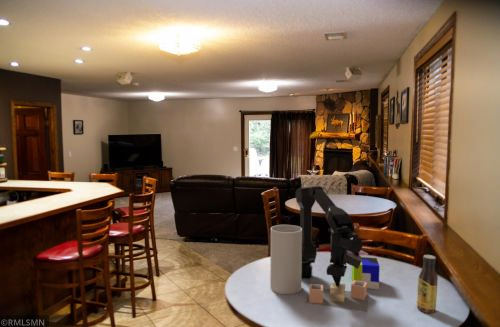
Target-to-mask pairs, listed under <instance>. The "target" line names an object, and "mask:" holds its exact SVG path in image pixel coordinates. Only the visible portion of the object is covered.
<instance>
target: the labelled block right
mask: <svg viewBox="0 0 500 327" xmlns="http://www.w3.org/2000/svg"><path fill="white" fill-rule="evenodd" d="M350 291H351V297H352V298H357V299H362V300H365V298H366V296H367V294H368V288H367V282H361V281H356V280H354V281H353V282H352V283H351V285H350Z"/></svg>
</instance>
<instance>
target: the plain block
mask: <svg viewBox="0 0 500 327" xmlns="http://www.w3.org/2000/svg"><path fill="white" fill-rule="evenodd" d="M329 289H330V300H331V301H338V302H344V299H345V291H346V284H345V283H340V285H339V286H336V284H335V282H331V284H330V288H329Z"/></svg>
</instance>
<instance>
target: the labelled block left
mask: <svg viewBox="0 0 500 327" xmlns="http://www.w3.org/2000/svg"><path fill="white" fill-rule="evenodd" d="M323 288H324V285H323V284H311V283H310V284H309V290H308V291H309V292H308V295H309V303H308V304H310V303H323Z"/></svg>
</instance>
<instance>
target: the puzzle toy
mask: <svg viewBox="0 0 500 327" xmlns="http://www.w3.org/2000/svg"><path fill="white" fill-rule="evenodd" d="M361 258H362V261H361V264H360V266H359V268H358V269H357V268H355V267H354V266H352V265H351V280H352V281H351V282H352V283H353V281H354V280H356V281H361V282H367V289H372V290H374V289H375V290H379V289H380V268H381V267H380V264H379V261H378V258H376V257H367V256H366V257H365V256H363V257H362V256H361Z"/></svg>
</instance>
